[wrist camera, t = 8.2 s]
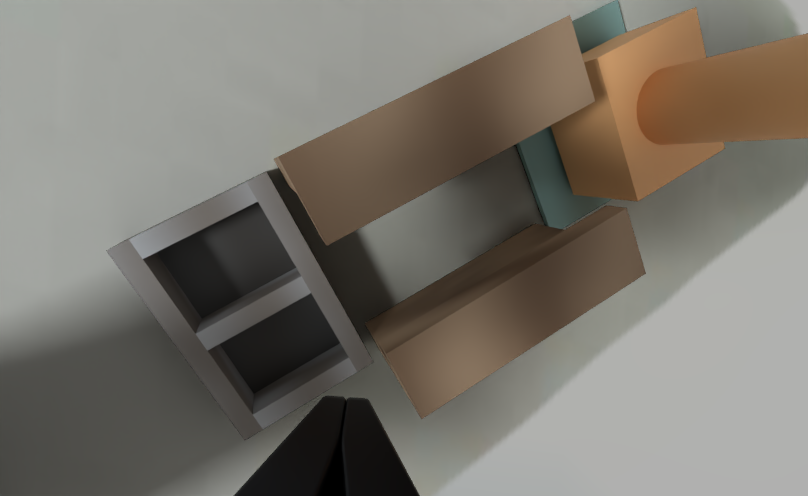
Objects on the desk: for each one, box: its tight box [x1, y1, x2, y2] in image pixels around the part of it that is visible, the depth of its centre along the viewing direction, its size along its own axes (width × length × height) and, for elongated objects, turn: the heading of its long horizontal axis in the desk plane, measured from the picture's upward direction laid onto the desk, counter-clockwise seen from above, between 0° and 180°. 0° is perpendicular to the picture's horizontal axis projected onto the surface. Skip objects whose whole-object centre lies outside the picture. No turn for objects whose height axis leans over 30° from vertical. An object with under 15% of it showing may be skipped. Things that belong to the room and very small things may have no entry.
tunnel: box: [106, 0, 646, 440], centre depth 17 cm, size 24×10×6 cm, turn 115°
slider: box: [550, 7, 808, 201], centre depth 14 cm, size 5×6×15 cm
